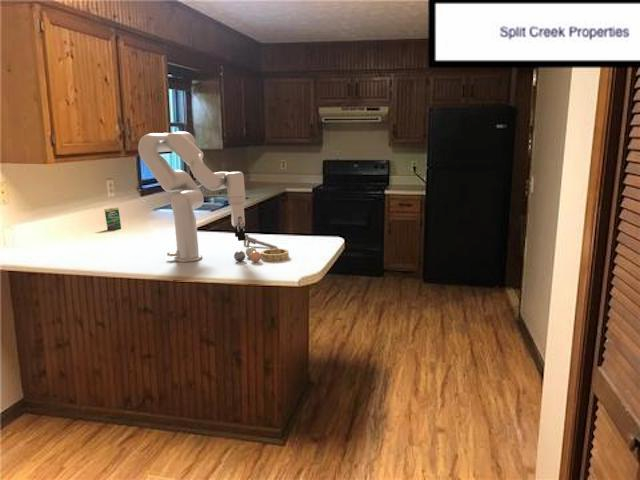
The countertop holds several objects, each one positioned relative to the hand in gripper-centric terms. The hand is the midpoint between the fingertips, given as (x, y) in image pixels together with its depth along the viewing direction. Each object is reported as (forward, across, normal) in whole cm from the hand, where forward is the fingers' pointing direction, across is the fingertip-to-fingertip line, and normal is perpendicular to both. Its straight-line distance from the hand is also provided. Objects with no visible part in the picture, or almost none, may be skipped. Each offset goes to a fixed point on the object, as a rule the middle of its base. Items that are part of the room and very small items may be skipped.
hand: (240, 238), depth 229 cm
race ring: (+11, -1, +15) cm, 19 cm away
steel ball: (+8, -1, -1) cm, 8 cm away
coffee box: (+7, -111, -64) cm, 128 cm away
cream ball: (+8, -7, +5) cm, 12 cm away
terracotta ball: (+8, +3, +6) cm, 11 cm away
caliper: (+11, -27, +13) cm, 32 cm away
